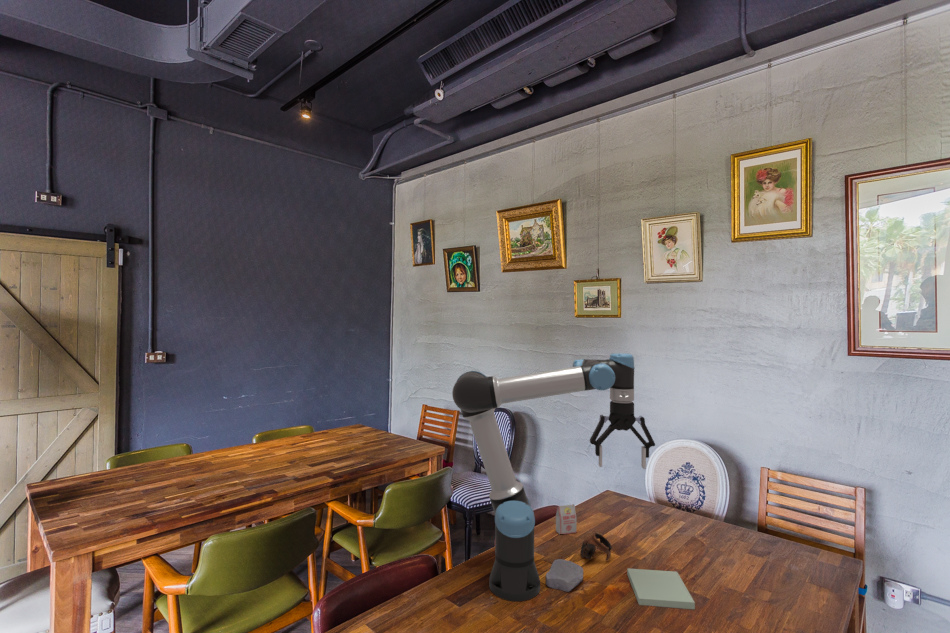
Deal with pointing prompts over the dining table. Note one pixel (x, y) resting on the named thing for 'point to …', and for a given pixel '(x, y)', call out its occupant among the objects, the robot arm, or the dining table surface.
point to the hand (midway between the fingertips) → (621, 466)
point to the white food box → (566, 519)
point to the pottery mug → (592, 541)
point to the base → (660, 589)
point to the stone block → (564, 575)
